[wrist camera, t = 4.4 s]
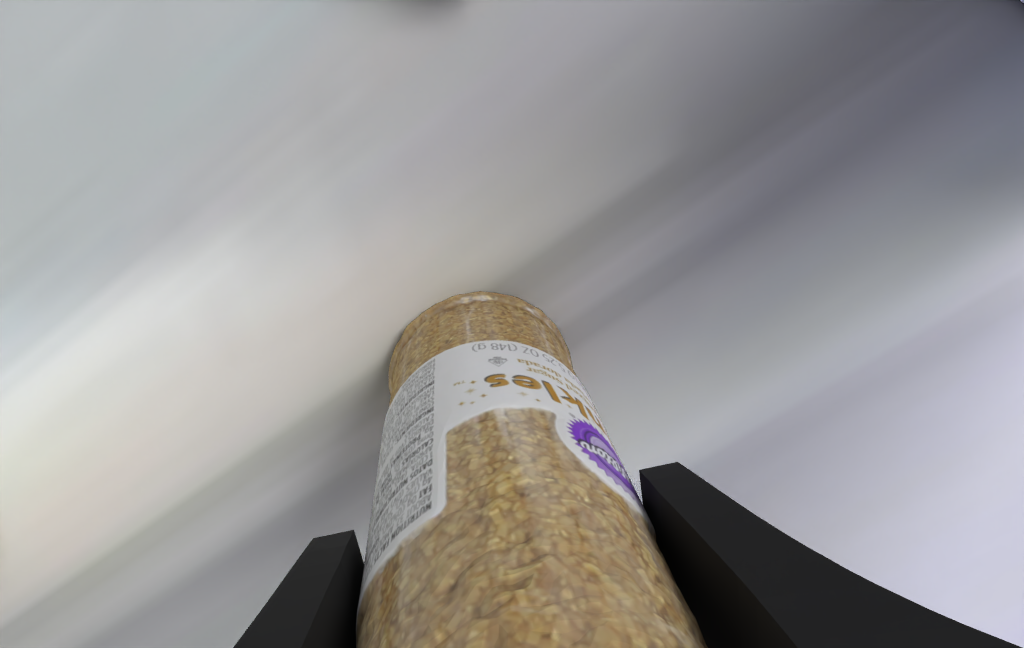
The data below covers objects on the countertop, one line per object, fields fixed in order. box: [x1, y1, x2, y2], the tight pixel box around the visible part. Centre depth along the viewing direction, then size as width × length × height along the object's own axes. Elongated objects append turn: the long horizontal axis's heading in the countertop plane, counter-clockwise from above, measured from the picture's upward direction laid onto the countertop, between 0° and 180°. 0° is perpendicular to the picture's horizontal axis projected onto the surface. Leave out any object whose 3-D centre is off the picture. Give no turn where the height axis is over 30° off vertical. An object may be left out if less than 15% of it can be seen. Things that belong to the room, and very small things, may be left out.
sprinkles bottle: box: [356, 291, 708, 648], centre depth 10 cm, size 5×5×14 cm
